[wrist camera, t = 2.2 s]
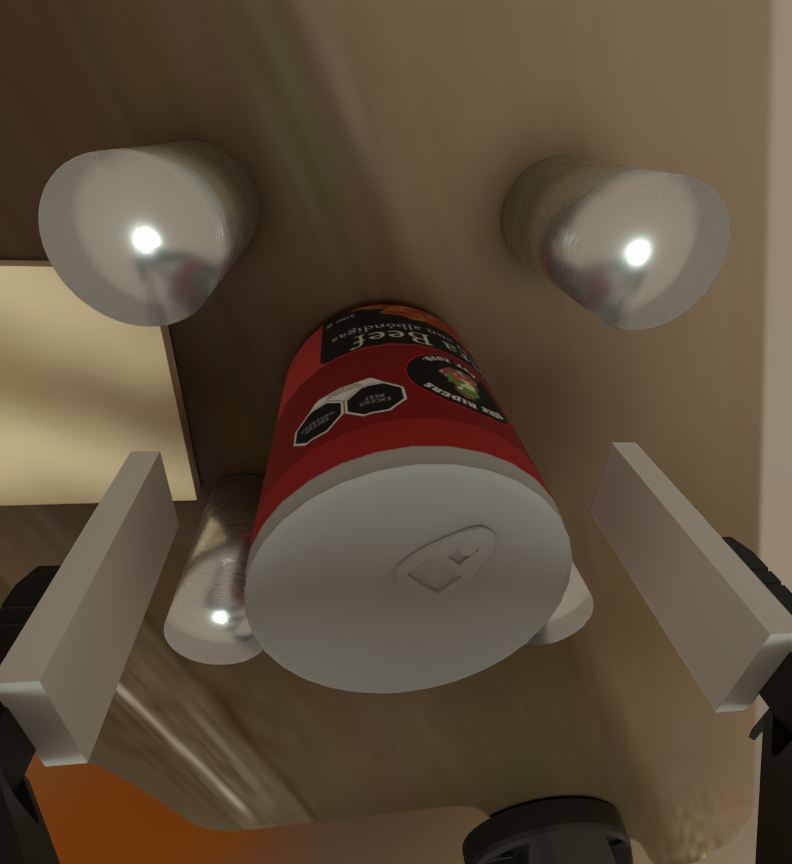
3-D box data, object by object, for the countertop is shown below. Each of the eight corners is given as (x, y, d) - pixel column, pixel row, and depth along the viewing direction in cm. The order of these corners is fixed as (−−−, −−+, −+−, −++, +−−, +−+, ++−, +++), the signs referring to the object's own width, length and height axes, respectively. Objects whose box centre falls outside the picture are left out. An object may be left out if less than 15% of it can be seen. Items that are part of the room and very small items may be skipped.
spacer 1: (265, 259, 18) (229, 326, 12) (160, 257, 17) (67, 326, 11) (255, 143, 16) (205, 154, 10) (136, 137, 16) (12, 146, 10)
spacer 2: (290, 531, 25) (274, 661, 19) (214, 534, 24) (174, 667, 18) (284, 472, 23) (265, 596, 17) (203, 474, 22) (153, 601, 16)
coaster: (201, 488, 23) (197, 500, 22) (-13, 494, 22) (-24, 506, 21) (155, 263, 18) (147, 268, 17) (-128, 257, 17) (-148, 263, 16)
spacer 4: (586, 266, 19) (697, 331, 13) (494, 264, 19) (566, 329, 13) (611, 159, 17) (755, 177, 11) (510, 154, 17) (603, 171, 11)
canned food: (506, 347, 21) (645, 533, 11) (410, 487, 24) (456, 719, 15) (337, 258, 18) (336, 401, 9) (256, 428, 21) (193, 663, 12)
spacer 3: (525, 523, 26) (581, 642, 20) (457, 525, 25) (493, 647, 20) (539, 466, 24) (604, 579, 18) (465, 468, 24) (508, 584, 18)
